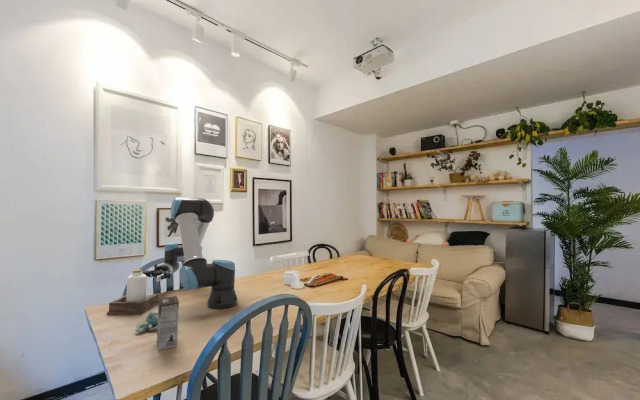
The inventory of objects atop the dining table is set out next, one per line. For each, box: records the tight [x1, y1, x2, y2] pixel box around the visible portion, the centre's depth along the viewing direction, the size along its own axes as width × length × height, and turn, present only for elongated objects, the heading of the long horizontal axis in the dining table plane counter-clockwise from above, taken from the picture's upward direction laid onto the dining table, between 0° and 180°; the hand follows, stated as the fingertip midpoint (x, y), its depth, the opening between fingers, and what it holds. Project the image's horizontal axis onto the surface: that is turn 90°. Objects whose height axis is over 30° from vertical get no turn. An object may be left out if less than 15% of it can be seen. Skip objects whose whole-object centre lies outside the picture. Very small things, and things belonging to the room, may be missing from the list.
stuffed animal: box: [134, 311, 158, 333], centre depth 119 cm, size 11×7×12 cm
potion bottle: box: [125, 269, 148, 302], centre depth 143 cm, size 8×8×18 cm
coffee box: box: [156, 295, 180, 351], centre depth 106 cm, size 9×6×16 cm
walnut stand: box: [106, 293, 159, 315], centre depth 142 cm, size 16×16×5 cm
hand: (143, 279), depth 150 cm, fingers open, 13 cm apart
